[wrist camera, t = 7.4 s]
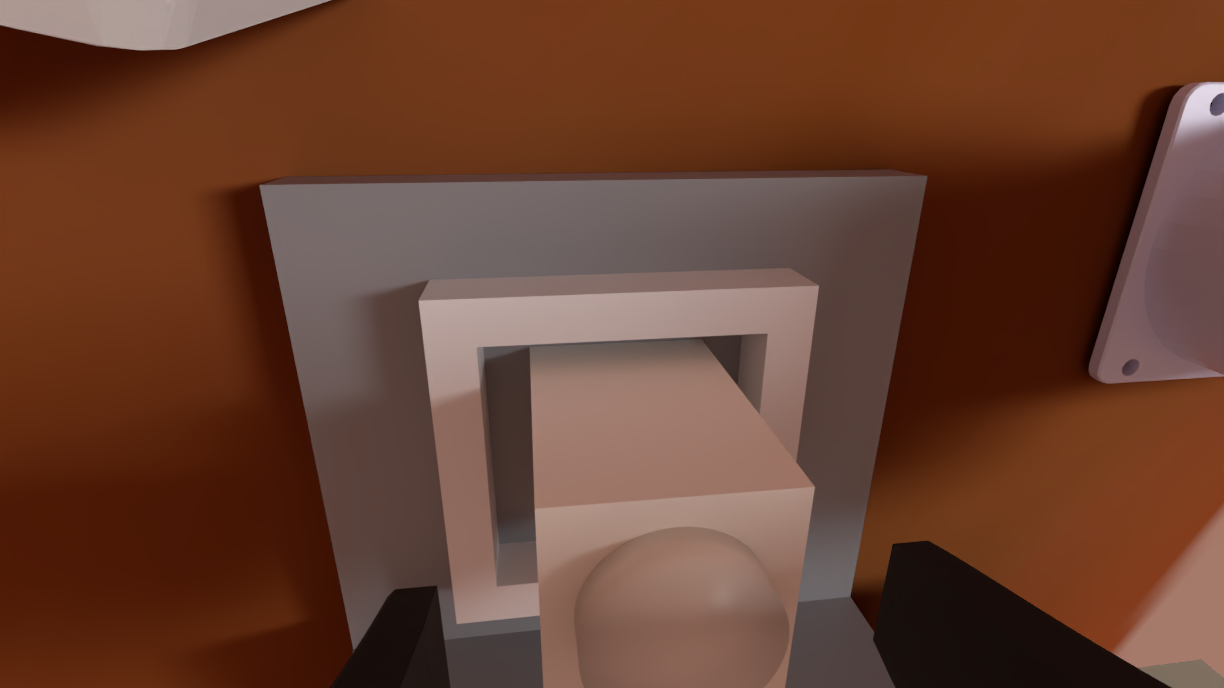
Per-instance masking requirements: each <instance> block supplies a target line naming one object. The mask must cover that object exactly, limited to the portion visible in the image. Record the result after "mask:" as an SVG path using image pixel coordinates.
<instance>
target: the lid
mask: <svg viewBox="0 0 1224 688" xmlns="http://www.w3.org/2000/svg"><path fill="white" fill-rule="evenodd" d="M1138 669H1140V670H1142V671H1144V672H1145V673H1147V674H1149V675H1151V676H1152V677H1154V678H1156V679H1158V680H1159V681H1161V682H1163V683H1165V684H1166V685H1168V686H1170V687H1172V688H1224V678H1223V677H1222V676H1221V675H1220V674H1218V673H1217V672H1216V671H1215V670H1213V669H1212V668H1211V667H1210V666H1208V665H1207V664H1206V663H1205V662H1204V661H1202V660H1195V661H1187V662H1180V663H1172V664H1165V665H1156V666H1149V667H1141V668H1138Z"/></svg>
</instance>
